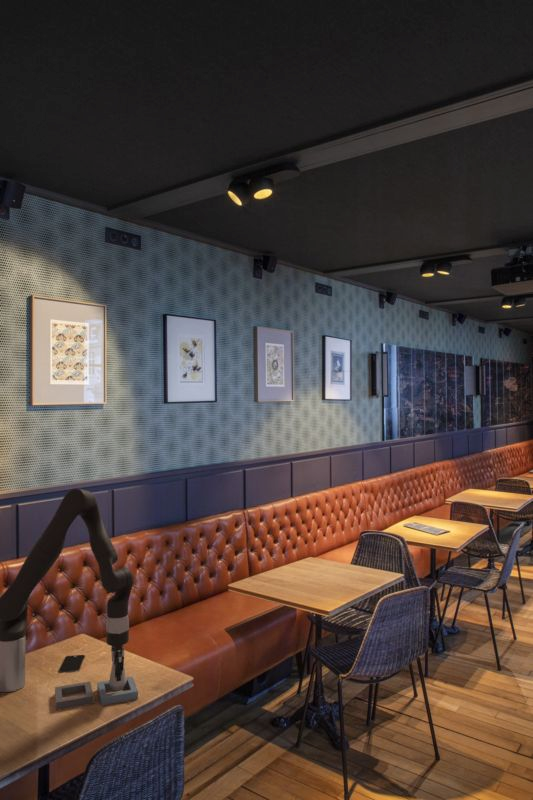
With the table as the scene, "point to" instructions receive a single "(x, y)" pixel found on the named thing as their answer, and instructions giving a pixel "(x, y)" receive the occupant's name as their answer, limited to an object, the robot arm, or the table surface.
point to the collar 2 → (118, 696)
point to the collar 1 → (75, 700)
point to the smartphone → (72, 663)
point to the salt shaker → (113, 682)
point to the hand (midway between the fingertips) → (117, 679)
